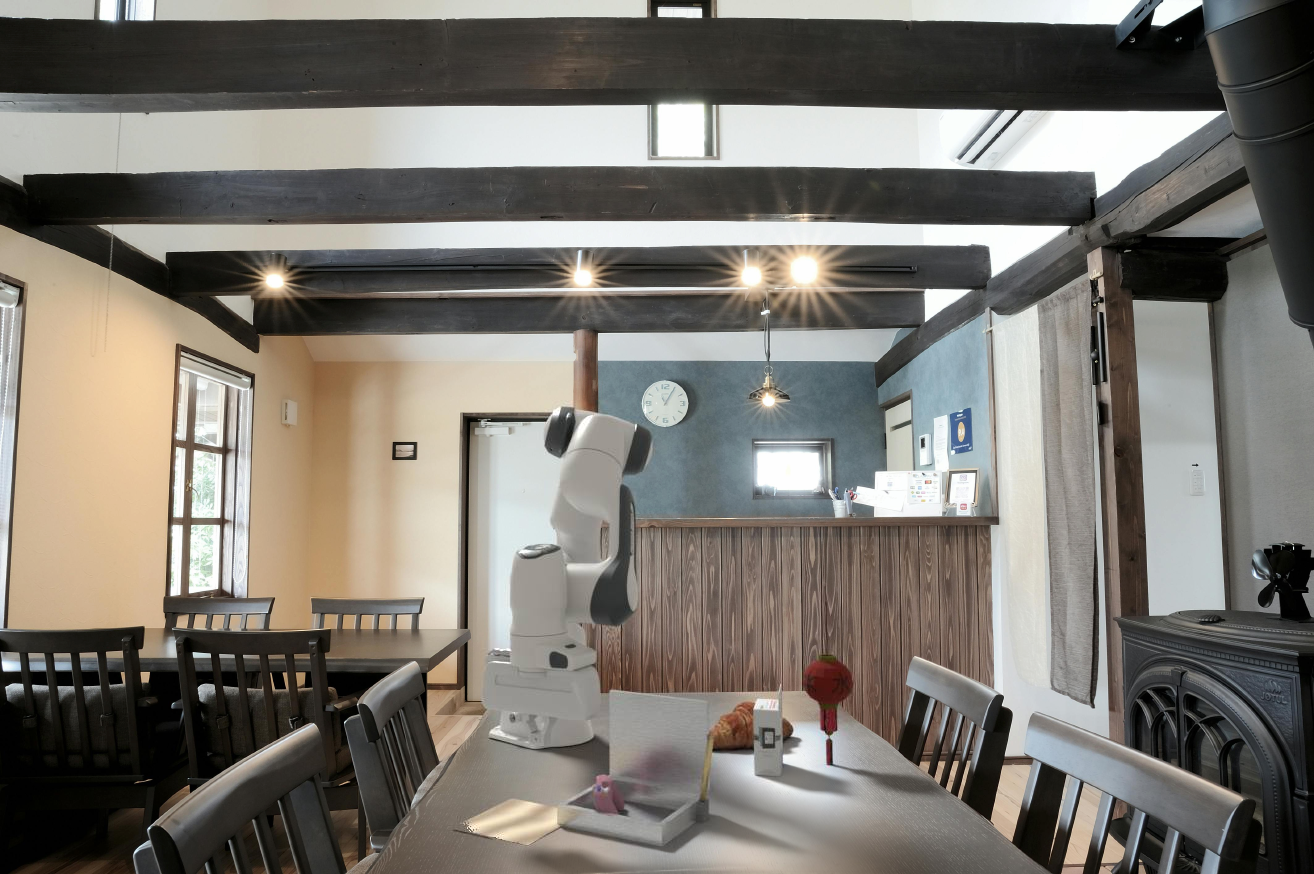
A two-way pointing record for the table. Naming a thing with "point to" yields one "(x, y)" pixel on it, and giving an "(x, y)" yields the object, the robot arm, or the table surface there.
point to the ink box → (768, 736)
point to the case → (651, 768)
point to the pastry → (740, 729)
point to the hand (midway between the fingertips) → (539, 743)
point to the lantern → (828, 690)
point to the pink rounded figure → (607, 795)
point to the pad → (516, 821)
